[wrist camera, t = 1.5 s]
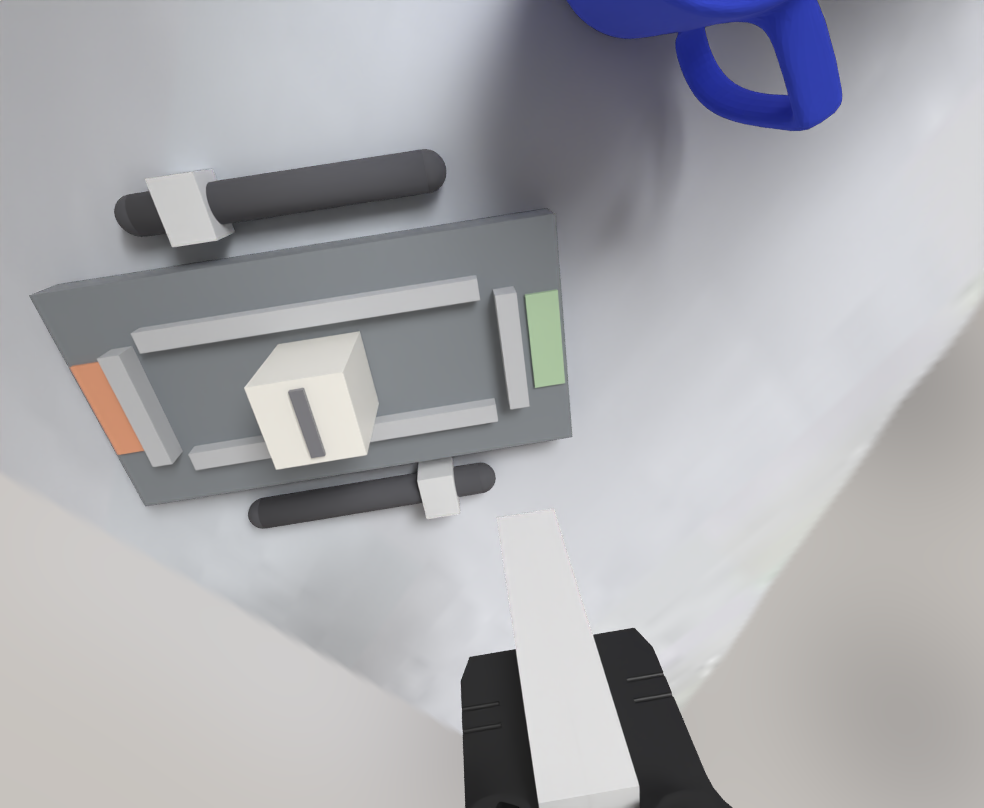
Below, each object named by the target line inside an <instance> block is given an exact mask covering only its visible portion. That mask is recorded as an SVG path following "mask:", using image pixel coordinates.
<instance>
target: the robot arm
mask: <svg viewBox="0 0 984 808" xmlns="http://www.w3.org/2000/svg"><path fill="white" fill-rule="evenodd" d="M496 519H497V525H498V532H499V539H500V546H501V552H502V559H503V566H504V573H505V580H506V586H507V593H508V600H509V607H510V614H511V620H512V627H513V634H514V641H515V647H516V649H514V650H508V651H502V652H496V653H490V654H484V655H479V656H473V657H469V660H468V663H467V666H466V668H465V671H464V674H463V676H462V679H461V701H462V728H463V755H464V782H465V808H732V807H731V806H730V805H729V804H727V803H726V802H725V801H724V800H723V799H722V798H721V796H720V795H719V794H718V793H717V792H716V790H715V789H714V788H713V786H712V784H711V782H710V781H709V779H708V777H707V775H706V773H705V771H704V768H703V766H702V764H701V761H700V759H699V756H698V754H697V751H696V749H695V747H694V745H693V742H692V740H691V737H690V735H689V732H688V730H687V728H686V725H685V723H684V720H683V718H682V716H681V713H680V711H679V708H678V706H677V704H676V701H675V699H674V697H673V696H672V692H671V689H670V687H669V685H668V682H667V680H666V677H664V674H663V670H662V668H661V666H660V663H659V661H658V658H657V656H656V654H655V651H654V649H653V647H652V646H651V645H650V644H649V643H648V642H647V641H646V639H645V638H644V637H643V636H642V635H641V634H640V633H639V632H638V631H637V630H636V629H635V628H630V629H624V630H618V631H612V632H606V633H601V634H595V635H593V634H592V630H591V627H590V624H589V621H588V618H587V614H586V611H585V608H584V605H583V601H582V598H581V595H580V592H579V588H578V585H577V582H576V579H575V575H574V572H573V569H572V566H571V562H570V559H569V556H568V553H567V549H566V546H565V543H564V540H563V536H562V533H561V530H560V527H559V523H558V520H557V517H556V514H555V510H554V508H551V509H545V510H539V511H533V512H527V513H521V514H515V515H509V516H503V517H497V518H496Z"/></svg>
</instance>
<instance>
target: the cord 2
mask: <svg viewBox="0 0 984 808" xmlns="http://www.w3.org/2000/svg"><path fill="white" fill-rule="evenodd" d="M495 479H496V478H495V472H494V470H493V469H492V468H491V467H490V466H489V465H487V464H485V463H475V464H469V465H462V466H456V467H454V464H453V459H452V457H446V458H440V459H434V460H428V461H422V462H418V473H413V474H407V475H401V476H395V477H389V478H383V479H376V480H370V481H364V482H358V483H352V484H346V485H340V486H333V487H327V488H321V489H315V490H309V491H303V492H297V493H290V494H284V495H278V496H272V497H266V498H261V499H258V500H256V501H255V502H254V503H253V504H252V505H251V506H250V508H249V512H248V517H249V520H250V522H251V523H252V524H253V525H254V526H255V527H258V528H271V527H277V526H283V525H290V524H296V523H302V522H308V521H314V520H320V519H326V518H332V517H338V516H345V515H351V514H357V513H363V512H369V511H375V510H381V509H387V508H393V507H400V506H406V505H412V504H418V503H423V506H424V510H425V515H426V519H433V518H439V517H445V516H451V515H457V514H460V499H459V497H461V496H467V495H473V494H479V493H484V492H487V491H489V490H490V489H491V488H492V487H493V485H494V483H495Z"/></svg>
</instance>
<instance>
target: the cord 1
mask: <svg viewBox="0 0 984 808" xmlns="http://www.w3.org/2000/svg"><path fill="white" fill-rule="evenodd" d="M445 178H446V166H445V163H444V161H443V159H442V158H441V157H440V156H439V155H438V154H437V153H436V152H434V151H432V150H428V149H422V150H416V151H409V152H402V153H396V154H389V155H383V156H376V157H370V158H363V159H357V160H350V161H344V162H337V163H331V164H324V165H317V166H311V167H304V168H298V169H291V170H285V171H278V172H272V173H265V174H259V175H252V176H246V177H239V178H233V179H226V180H219V181H217V179H216V176H215V174H214V171H213V169H207V170H200V171H193V172H187V173H180V174H174V175H167V176H160V177H154V178H147V179H145V182H146V184H147V187H148V189H149V191H148V192H141V193H134V194H129V195H126V196H123V197H122V198H120V199H119V200H118V201H117V203H116V205H115V210H114V213H115V218H116V220H117V222H118V224H119V225H120V226H121V227H122V228H123V229H124V230H125V231H127V232H128V233H130V234H133V235H136V236H141V237H143V236H152V235H158V234H165V233H167V236H168V238H169V241H170V243H171V246H172V247H179V246H185V245H192V244H198V243H205V242H211V241H218V240H220V239H222V238H224V237H226V236H228V235H230V234H232V233H235V231H234V228H233V225H232V223H236V222H243V221H249V220H256V219H262V218H269V217H275V216H282V215H288V214H294V213H301V212H307V211H314V210H320V209H327V208H333V207H340V206H346V205H353V204H359V203H366V202H372V201H379V200H385V199H392V198H398V197H405V196H411V195H418V194H424V193H430V192H434V191H436V190H438V189H439V188H440V187H441V186H442V185H443V183H444V181H445Z"/></svg>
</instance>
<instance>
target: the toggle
mask: <svg viewBox="0 0 984 808" xmlns="http://www.w3.org/2000/svg"><path fill="white" fill-rule="evenodd" d="M244 389H245V391H246V394H247V397H248V399H249V402H250V404H251V407H252V409H253V412H254V414H255V417H256V420H257V422H258V425H259V427H260V430H261V432H262V435H263V437H264V440H265V442H266V445H267V448H268V450H269V453H270V455H271V458H272V460H273V463H274V465H275V468H276V470H277V469H284V468H290V467H296V466H302V465H308V464H314V463H321V462H327V461H333V460H339V459H345V458H352V457H358V456H364V455H367V453H368V449H369V444H370V440H371V436H372V431H373V427H374V423H375V418H376V414H377V409H378V405H379V402H378V398H377V395H376V391H375V387H374V383H373V379H372V376H371V372H370V368H369V364H368V361H367V357H366V353H365V349H364V345H363V342H362V338H361V334H360V331H358V332H352V333H345V334H339V335H333V336H327V337H320V338H314V339H308V340H301V341H295V342H289V343H282V344H278V345H277V346H276V347H275V349H274V350H273V351H272V353H271V354H270V355H269V356H268V358H267V359H266V360H265V362H264V363H263V364H262V365H261V367H260V368H259V369H258V371H257V372H256V373H255V374H254V376H253V377H252V378H251V380H250V381H249V382H248V384H247V385H246V386H245V387H244Z"/></svg>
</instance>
